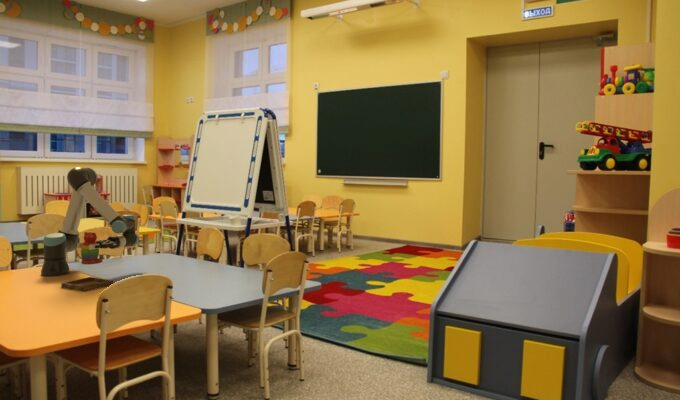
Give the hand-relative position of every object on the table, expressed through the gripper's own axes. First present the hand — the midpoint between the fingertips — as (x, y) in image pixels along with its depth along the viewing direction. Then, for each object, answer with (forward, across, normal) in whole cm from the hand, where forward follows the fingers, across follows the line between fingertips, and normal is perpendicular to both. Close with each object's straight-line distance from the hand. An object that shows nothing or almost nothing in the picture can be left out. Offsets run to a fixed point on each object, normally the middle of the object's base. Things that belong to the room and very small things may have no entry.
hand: (83, 246), depth 311 cm
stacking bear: (-5, 0, -10) cm, 11 cm away
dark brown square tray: (+10, -16, -19) cm, 27 cm away
